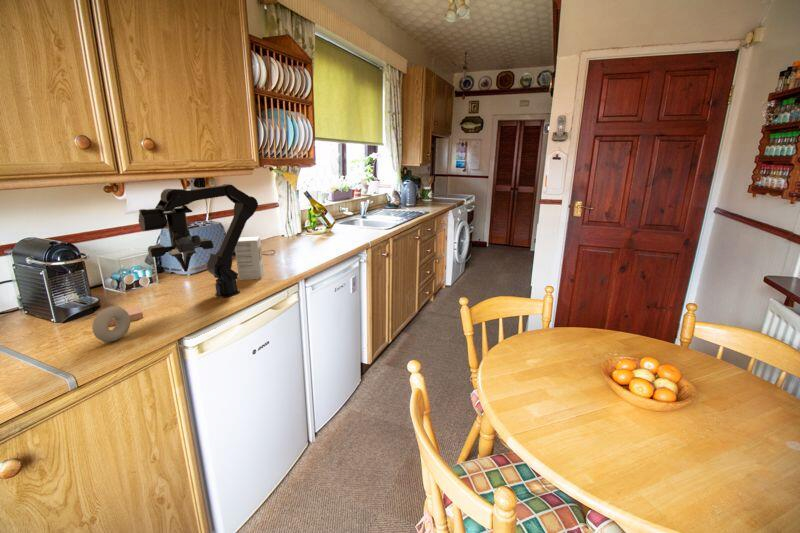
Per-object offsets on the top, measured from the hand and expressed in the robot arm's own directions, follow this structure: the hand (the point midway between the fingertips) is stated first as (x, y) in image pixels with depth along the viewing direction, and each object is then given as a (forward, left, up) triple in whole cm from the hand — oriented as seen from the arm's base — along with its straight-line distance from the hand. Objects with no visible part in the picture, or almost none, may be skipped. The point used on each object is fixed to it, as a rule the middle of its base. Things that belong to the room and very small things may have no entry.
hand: (185, 271), depth 130 cm
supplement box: (-32, -9, -12) cm, 35 cm away
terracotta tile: (+14, -5, -11) cm, 19 cm away
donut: (+27, +9, -12) cm, 31 cm away
